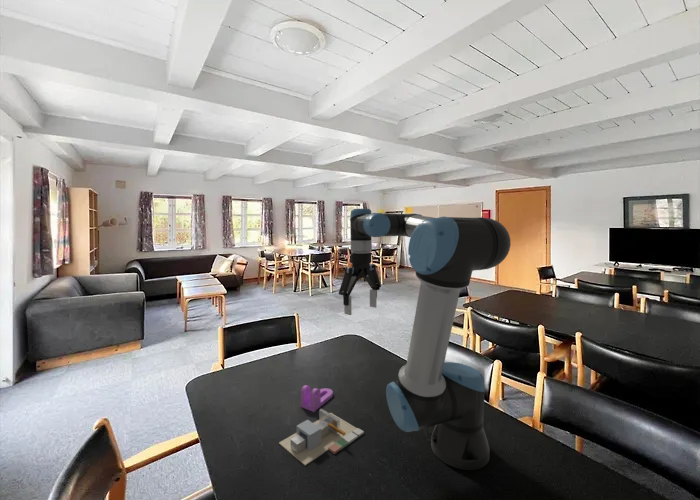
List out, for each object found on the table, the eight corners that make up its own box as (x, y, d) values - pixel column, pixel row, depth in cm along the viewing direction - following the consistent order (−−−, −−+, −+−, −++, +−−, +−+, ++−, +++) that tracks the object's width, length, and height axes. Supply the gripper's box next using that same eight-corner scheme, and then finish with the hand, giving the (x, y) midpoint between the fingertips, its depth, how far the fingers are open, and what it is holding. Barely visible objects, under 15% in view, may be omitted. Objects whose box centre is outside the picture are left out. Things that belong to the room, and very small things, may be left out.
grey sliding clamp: (349, 440, 91) (349, 425, 90) (312, 466, 81) (312, 449, 81) (321, 422, 99) (321, 408, 99) (285, 444, 89) (285, 428, 89)
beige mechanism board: (363, 433, 95) (363, 417, 94) (311, 470, 80) (310, 452, 80) (330, 413, 105) (330, 399, 104) (278, 443, 90) (278, 427, 90)
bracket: (313, 412, 106) (313, 392, 105) (300, 407, 108) (300, 387, 108) (335, 394, 117) (335, 376, 116) (323, 390, 120) (323, 372, 119)
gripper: (375, 249, 126) (374, 302, 127) (328, 253, 108) (328, 315, 109) (390, 250, 120) (390, 305, 122) (343, 255, 102) (344, 319, 104)
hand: (361, 310), depth 116 cm, fingers open, 13 cm apart
